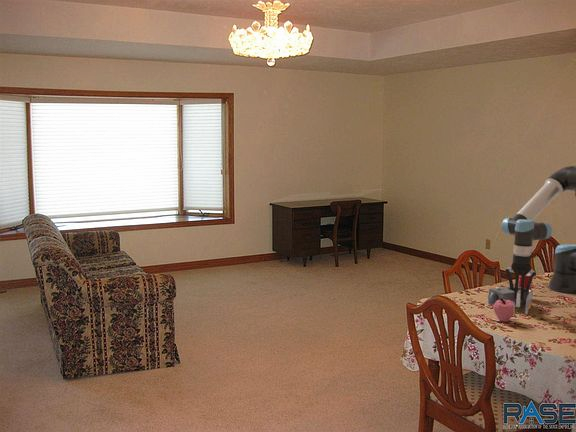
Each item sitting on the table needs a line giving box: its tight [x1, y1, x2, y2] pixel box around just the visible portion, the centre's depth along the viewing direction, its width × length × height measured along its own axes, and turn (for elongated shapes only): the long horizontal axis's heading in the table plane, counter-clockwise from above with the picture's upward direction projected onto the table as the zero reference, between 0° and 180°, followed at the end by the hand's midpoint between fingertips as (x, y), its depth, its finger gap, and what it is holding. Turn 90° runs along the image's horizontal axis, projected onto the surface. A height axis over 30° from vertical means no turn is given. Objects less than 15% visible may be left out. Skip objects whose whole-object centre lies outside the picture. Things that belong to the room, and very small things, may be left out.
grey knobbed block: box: [487, 285, 529, 308], centre depth 285 cm, size 18×9×8 cm, turn 113°
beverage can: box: [518, 273, 533, 290], centre depth 296 cm, size 6×6×12 cm
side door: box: [524, 289, 534, 315], centre depth 277 cm, size 16×2×7 cm, turn 153°
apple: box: [493, 298, 516, 323], centre depth 261 cm, size 10×9×10 cm
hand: (517, 306), depth 276 cm, fingers closed
